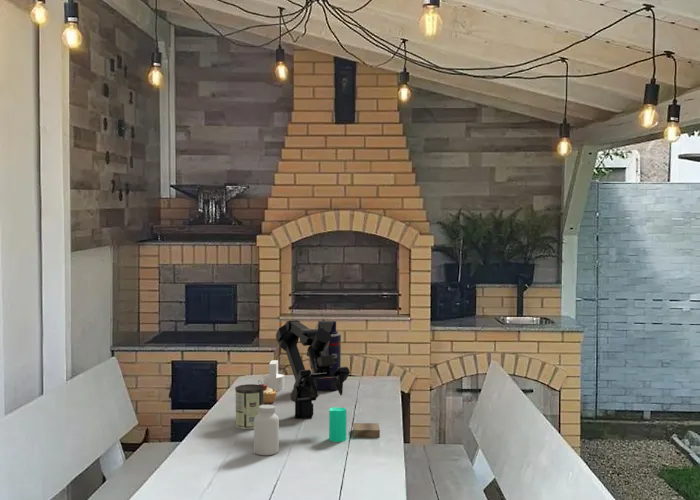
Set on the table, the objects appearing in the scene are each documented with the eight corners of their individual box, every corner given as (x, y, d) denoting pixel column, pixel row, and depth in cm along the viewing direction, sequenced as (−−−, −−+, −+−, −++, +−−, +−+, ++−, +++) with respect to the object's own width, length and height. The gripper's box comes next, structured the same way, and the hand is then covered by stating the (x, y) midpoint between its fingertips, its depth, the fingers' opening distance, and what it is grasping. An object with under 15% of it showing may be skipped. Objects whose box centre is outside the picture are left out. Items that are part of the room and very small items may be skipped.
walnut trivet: (353, 437, 277) (353, 430, 277) (353, 430, 286) (353, 423, 286) (379, 437, 277) (379, 430, 277) (378, 430, 286) (378, 423, 286)
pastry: (257, 407, 317) (257, 385, 317) (241, 402, 326) (241, 380, 326) (282, 403, 325) (282, 381, 325) (265, 397, 334) (265, 376, 334)
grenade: (315, 385, 359) (316, 318, 357) (342, 386, 357) (342, 319, 355) (310, 392, 345) (310, 322, 343) (337, 393, 343) (337, 323, 342)
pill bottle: (282, 450, 261) (282, 404, 261) (272, 457, 254) (272, 410, 253) (260, 447, 264) (260, 402, 263) (249, 454, 256) (249, 408, 256)
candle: (344, 442, 271) (344, 407, 270) (327, 441, 272) (327, 406, 271) (348, 437, 276) (348, 403, 276) (331, 436, 278) (331, 402, 277)
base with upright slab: (283, 391, 345) (283, 364, 344) (262, 391, 345) (262, 364, 345) (284, 387, 354) (285, 360, 353) (264, 387, 354) (264, 360, 354)
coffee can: (251, 420, 298) (251, 382, 297) (269, 425, 291) (269, 387, 290) (229, 425, 290) (229, 387, 290) (247, 431, 283) (247, 391, 283)
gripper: (299, 347, 281) (310, 385, 271) (348, 344, 288) (360, 380, 279) (291, 365, 288) (302, 403, 279) (339, 362, 296) (351, 398, 286)
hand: (329, 395), depth 280 cm, fingers open, 9 cm apart
